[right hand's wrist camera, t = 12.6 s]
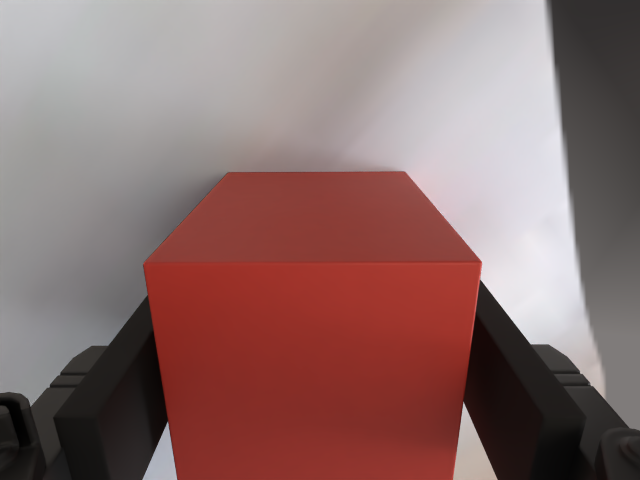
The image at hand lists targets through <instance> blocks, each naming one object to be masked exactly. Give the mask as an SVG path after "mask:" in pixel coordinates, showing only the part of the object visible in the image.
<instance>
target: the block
mask: <svg viewBox="0 0 640 480" xmlns="http://www.w3.org/2000/svg"><path fill="white" fill-rule="evenodd" d="M143 267H144V273H145V279H146V286H147V292H148V298H149V304H150V311H151V317H152V323H153V329H154V336H155V342H156V348H157V355H158V361H159V367H160V373H161V380H162V386H163V392H164V399H165V405H166V411H167V417H168V424H169V430H170V436H171V442H172V449H173V455H174V461H175V468H176V474H177V480H453V475H454V467H455V460H456V452H457V445H458V438H459V430H460V423H461V416H462V408H463V401H464V393H465V386H466V379H467V371H468V364H469V357H470V349H471V342H472V334H473V327H474V320H475V312H476V305H477V297H478V290H479V283H480V275H481V268H482V261H481V260H480V259H479V258H478V257H477V256H476V254H475V253H474V252H473V251H472V250H471V248H470V247H469V246H468V245H467V244H466V243H465V241H464V240H463V239H462V238H461V237H460V236H459V234H458V233H457V232H456V231H455V230H454V229H453V227H452V226H451V225H450V224H449V223H448V221H447V220H446V219H445V218H444V217H443V216H442V214H441V213H440V212H439V211H438V210H437V209H436V207H435V206H434V205H433V204H432V203H431V202H430V200H429V199H428V198H427V197H426V196H425V195H424V193H423V192H422V191H421V190H420V189H419V187H418V186H417V185H416V184H415V183H414V182H413V180H412V179H411V178H410V177H409V176H408V175H407V173H406V172H229V173H227V174H226V175H225V176H224V177H223V178H222V179H221V181H220V182H219V183H218V184H217V185H216V186H215V187H214V188H213V189H212V190H211V191H210V192H209V193H208V194H207V196H206V197H205V198H204V199H203V200H202V201H201V202H200V203H199V204H198V205H197V206H196V207H195V208H194V209H193V211H192V212H191V213H190V214H189V215H188V216H187V217H186V218H185V219H184V220H183V221H182V222H181V223H180V224H179V226H178V227H177V228H176V229H175V230H174V231H173V232H172V233H171V234H170V235H169V236H168V237H167V238H166V239H165V241H164V242H163V243H162V244H161V245H160V246H159V247H158V248H157V249H156V250H155V251H154V252H153V253H152V254H151V255H150V257H149V258H148V259H147V260H146V261H145V262H144V264H143Z"/></svg>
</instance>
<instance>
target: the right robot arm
mask: <svg viewBox="0 0 640 480" xmlns="http://www.w3.org/2000/svg"><path fill="white" fill-rule="evenodd" d="M464 404H465V406H466V408H467V410H468V413H469V415H470V417H471V420H472V422H473V424H474V427H475V429H476V431H477V433H478V436H479V438H480V440H481V443H482V445H483V447H484V449H485V452H486V454H487V456H488V459H489V461H490V463H491V465H492V468H493V470H494V472H495V475H496V477H497V479H498V480H640V431H639V430H636V429H630V428H629V427H628V426H627V425H626V424H625V422H624V421H623V420H622V419H621V418H620V417H619V416H618V414H617V413H616V412H615V411H614V410H613V409H612V407H611V406H610V405H609V404H608V403H607V402H606V401H605V399H604V398H603V397H602V396H601V395H600V394H599V393H598V391H597V390H596V389H595V388H594V387H593V386H591V385H590V382H589V381H588V380H587V379H586V378H585V376H584V375H583V374H580V371H579V370H578V368H577V367H576V366H575V365H574V364H573V363H572V362H571V360H570V359H569V358H568V357H567V356H565V355H564V354H562V353H561V352H559V351H558V350H556V349H555V348H553V347H552V346H550V345H531V344H530V343H529V342H528V341H527V339H526V338H525V337H524V335H523V334H522V333H521V332H520V330H519V329H518V328H517V326H516V325H515V324H514V322H513V321H512V320H511V319H510V317H509V316H508V315H507V313H506V312H505V311H504V310H503V308H502V307H501V306H500V304H499V303H498V302H497V301H496V299H495V298H494V297H493V295H492V294H491V293H490V292H489V290H488V289H487V288H486V286H485V285H484V284H483V282H482V281H481V280H480V283H479V290H478V297H477V305H476V312H475V320H474V327H473V334H472V342H471V349H470V357H469V364H468V371H467V379H466V386H465V393H464ZM167 422H168V417H167V411H166V405H165V399H164V392H163V386H162V380H161V373H160V367H159V361H158V355H157V348H156V342H155V336H154V329H153V323H152V317H151V311H150V304H149V298H148V295H147V297H146V298H145V299H144V301H143V302H142V303H141V304H140V306H139V307H138V308H137V310H136V311H135V312H134V313H133V315H132V316H131V317H130V319H129V320H128V321H127V322H126V324H125V325H124V326H123V328H122V329H121V330H120V331H119V333H118V334H117V335H116V337H115V338H114V339H113V341H112V342H111V343H110V344H109V346H91V347H89V348H88V349H86V350H85V351H83V352H82V353H80V354H79V355H77V356H76V357H74V358H73V359H72V360H71V361H70V362H69V363H68V365H67V366H66V367H65V368H64V369H63V370H62V371H61V373H60V376H57V377H56V378H55V380H54V381H53V382H52V383H51V384H50V388H47V389H46V390H45V391H44V392H43V393H42V395H41V396H40V397H39V398H38V399H37V400H36V402H35V403H34V404H33V405H32V406H31V407H30V404H29V400H28V399H27V398H26V397H24V396H23V395H22V394H18V393H11V392H6V393H0V480H142V479H143V477H144V475H145V472H146V470H147V468H148V465H149V463H150V461H151V459H152V456H153V454H154V452H155V449H156V447H157V445H158V442H159V440H160V438H161V436H162V433H163V431H164V429H165V426H166V424H167Z"/></svg>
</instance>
